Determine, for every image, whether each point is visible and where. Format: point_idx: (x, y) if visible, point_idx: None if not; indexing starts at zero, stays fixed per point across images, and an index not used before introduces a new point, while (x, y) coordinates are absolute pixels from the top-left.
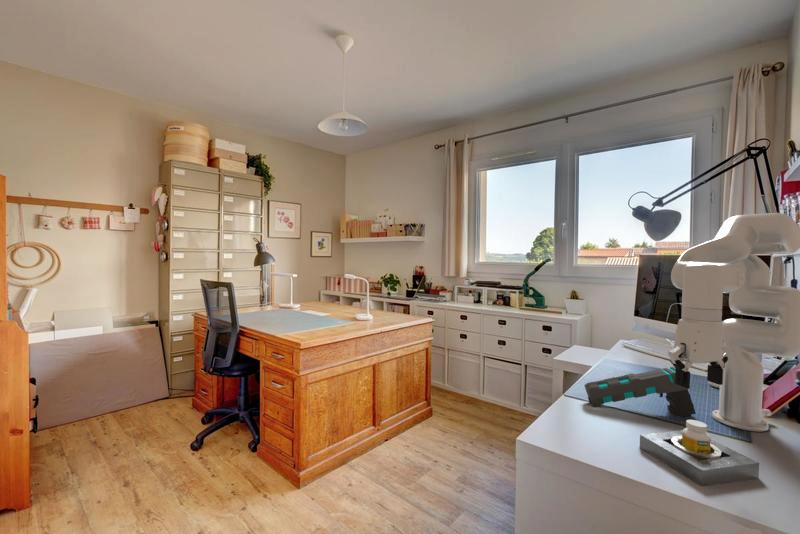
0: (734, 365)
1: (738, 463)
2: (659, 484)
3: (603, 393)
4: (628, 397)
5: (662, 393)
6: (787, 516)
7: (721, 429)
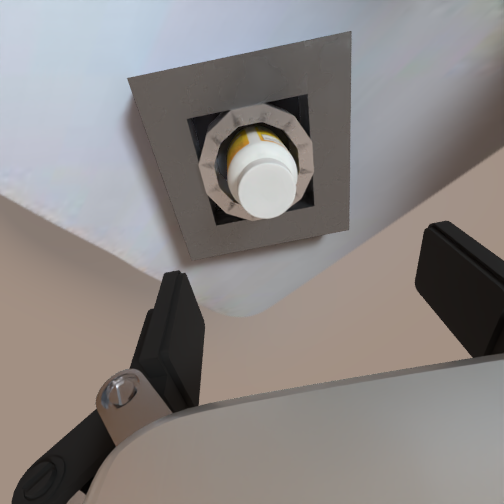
0: None
1: (298, 234)
2: (109, 241)
3: None
4: None
5: None
6: (271, 300)
7: None
